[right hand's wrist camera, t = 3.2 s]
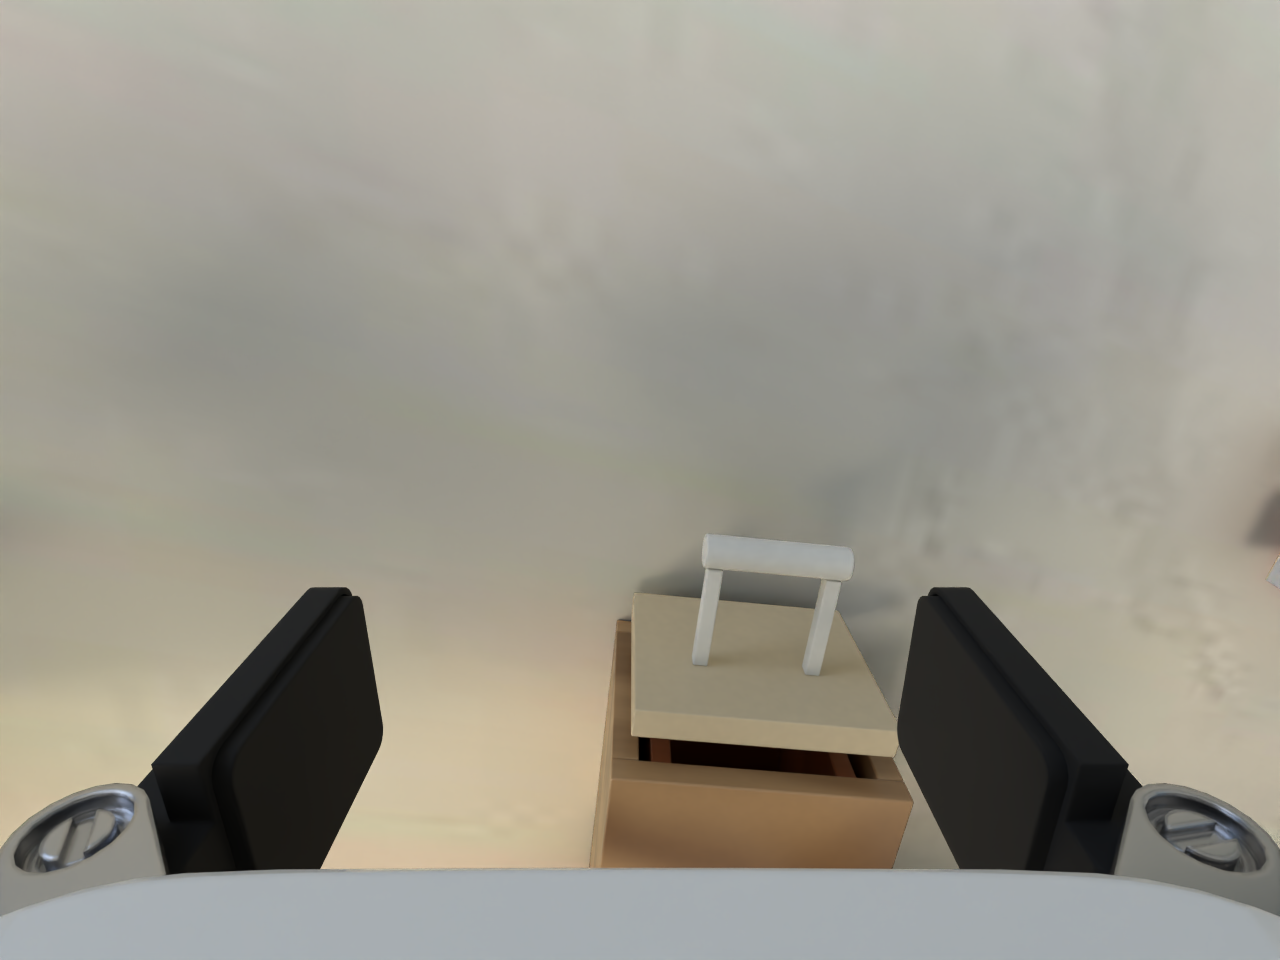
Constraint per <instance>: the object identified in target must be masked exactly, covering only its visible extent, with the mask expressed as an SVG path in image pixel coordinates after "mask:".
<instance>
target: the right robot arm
mask: <svg viewBox="0 0 1280 960" xmlns="http://www.w3.org/2000/svg"><path fill="white" fill-rule="evenodd" d="M382 736H383V723H382V717H381V711H380V705H379V699H378V693H377V687H376V681H375V675H374V669H373V663H372V657H371V651H370V645H369V639H368V633H367V627H366V621H365V615H364V609H363V604H362V600H361V599H360V597H358V596H352V594H351V592H350V590H349V589H348V588H346V587H314V588H310V589H309V590H307V591H306V592H305V593H304V595H303V596H302V597H301V598H300V599H299V600H298V601H297V602H296V603H295V605H294V606H293V607H292V608H291V609H290V610H289V611H288V612H287V614H286V615H285V616H284V617H283V618H282V619H281V620H280V621H279V622H278V624H277V625H276V626H275V627H274V628H273V629H272V630H271V631H270V633H269V634H268V635H267V636H266V637H265V638H264V639H263V640H262V641H261V643H260V644H259V645H258V646H257V647H256V648H255V649H254V650H253V652H252V653H251V654H250V655H249V656H248V657H247V658H246V659H245V660H244V662H243V663H242V664H241V665H240V666H239V667H238V668H237V669H236V670H235V672H234V673H233V674H232V675H231V676H230V677H229V678H228V679H227V681H226V682H225V683H224V684H223V685H222V686H221V687H220V688H219V689H218V691H217V692H216V693H215V694H214V695H213V696H212V697H211V698H210V700H209V701H208V702H207V703H206V704H205V705H204V706H203V707H202V708H201V710H200V711H199V712H198V713H197V714H196V715H195V716H194V717H193V719H192V720H191V721H190V722H189V723H188V724H187V725H186V726H185V727H184V729H183V730H182V731H181V732H180V733H179V734H178V735H177V736H176V738H175V739H174V740H173V741H172V742H171V743H170V744H169V745H168V746H167V748H166V749H165V750H164V751H163V752H162V753H161V754H160V755H159V757H158V758H157V759H156V760H155V761H154V762H153V763H152V764H151V765H152V768H153V769H152V771H151V772H150V773H149V774H148V775H147V776H146V777H145V778H144V780H143V781H142V782H141V783H140V784H139V785H138V786H135V785H132V784H120V783H113V784H107V785H100V786H95V787H92V788H88V789H85V790H82V791H79V792H76V793H73V794H71V795H69V796H67V797H65V798H63V799H61V800H58V801H56V802H54V803H52V804H50V805H49V806H47V807H46V808H44V809H43V810H41V811H39V812H38V813H36V814H35V815H33V816H32V817H30V818H29V819H28V820H27V821H26V822H24V823H23V824H22V825H21V826H20V827H19V828H18V829H17V830H15V831H14V832H13V833H12V834H11V835H10V837H9V838H8V839H7V841H6V842H5V844H4V845H3V846H2V848H1V849H0V960H1280V849H1279V848H1278V846H1277V845H1276V844H1275V842H1274V841H1273V839H1272V838H1271V837H1270V835H1269V834H1268V833H1267V832H1266V831H1265V830H1263V829H1262V828H1261V827H1260V826H1259V825H1258V824H1257V823H1256V822H1254V821H1253V820H1252V819H1251V818H1250V817H1248V816H1247V815H1245V814H1244V813H1242V812H1241V811H1239V810H1237V809H1236V808H1234V807H1233V806H1231V805H1230V804H1228V803H1226V802H1224V801H1222V800H1219V799H1217V798H1215V797H1213V796H1211V795H1209V794H1207V793H1204V792H1201V791H1198V790H1195V789H1192V788H1188V787H1185V786H1180V785H1173V784H1167V783H1160V784H1148V785H1145V786H1142V785H1141V784H1140V783H1139V782H1138V781H1137V780H1136V778H1135V777H1134V776H1133V775H1132V774H1131V773H1130V772H1129V771H1128V769H1127V768H1128V765H1129V764H1128V763H1127V762H1126V761H1125V760H1124V759H1123V758H1122V757H1121V755H1120V754H1119V753H1118V752H1117V751H1116V750H1115V749H1114V748H1113V746H1112V745H1111V744H1110V743H1109V742H1108V741H1107V740H1106V739H1105V738H1104V736H1103V735H1102V734H1101V733H1100V732H1099V731H1098V730H1097V729H1096V727H1095V726H1094V725H1093V724H1092V723H1091V722H1090V721H1089V720H1088V719H1087V717H1086V716H1085V715H1084V714H1083V713H1082V712H1081V711H1080V710H1079V708H1078V707H1077V706H1076V705H1075V704H1074V703H1073V702H1072V701H1071V700H1070V698H1069V697H1068V696H1067V695H1066V694H1065V693H1064V692H1063V691H1062V689H1061V688H1060V687H1059V686H1058V685H1057V684H1056V683H1055V682H1054V681H1053V679H1052V678H1051V677H1050V676H1049V675H1048V674H1047V673H1046V672H1045V670H1044V669H1043V668H1042V667H1041V666H1040V665H1039V664H1038V663H1037V662H1036V660H1035V659H1034V658H1033V657H1032V656H1031V655H1030V654H1029V653H1028V652H1027V650H1026V649H1025V648H1024V647H1023V646H1022V645H1021V644H1020V643H1019V641H1018V640H1017V639H1016V638H1015V637H1014V636H1013V635H1012V634H1011V633H1010V631H1009V630H1008V629H1007V628H1006V627H1005V626H1004V625H1003V624H1002V622H1001V621H1000V620H999V619H998V618H997V617H996V616H995V615H994V614H993V612H992V611H991V610H990V609H989V608H988V607H987V606H986V605H985V603H984V602H983V601H982V600H981V599H980V598H979V597H978V596H977V595H976V593H975V592H974V591H973V590H971V589H970V588H966V587H934V588H932V589H931V590H930V592H929V594H928V596H922V597H920V599H919V600H918V604H917V609H916V615H915V621H914V627H913V633H912V639H911V645H910V651H909V657H908V663H907V669H906V675H905V681H904V687H903V693H902V699H901V705H900V711H899V717H898V723H897V736H898V742H899V745H900V748H901V750H902V752H903V754H904V756H905V758H906V761H907V763H908V765H909V767H910V769H911V771H912V773H913V775H914V777H915V779H916V781H917V783H918V785H919V787H920V789H921V791H922V793H923V795H924V797H925V799H926V801H927V803H928V805H929V807H930V809H931V811H932V813H933V815H934V817H935V819H936V822H937V824H938V826H939V828H940V830H941V832H942V834H943V836H944V838H945V840H946V842H947V844H948V846H949V848H950V850H951V852H952V854H953V856H954V858H955V860H956V862H957V864H958V866H959V868H960V869H826V868H454V869H320V868H321V866H322V864H323V862H324V860H325V858H326V856H327V854H328V852H329V850H330V848H331V846H332V844H333V842H334V840H335V838H336V836H337V834H338V832H339V830H340V828H341V826H342V824H343V822H344V819H345V817H346V815H347V813H348V811H349V809H350V807H351V805H352V803H353V801H354V799H355V797H356V795H357V793H358V791H359V789H360V787H361V785H362V783H363V781H364V779H365V777H366V775H367V773H368V771H369V769H370V767H371V765H372V763H373V761H374V758H375V756H376V754H377V752H378V750H379V748H380V745H381V742H382Z"/></svg>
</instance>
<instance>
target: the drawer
mask: <svg viewBox="0 0 1280 960" xmlns="http://www.w3.org/2000/svg"><path fill="white" fill-rule="evenodd" d="M702 565H703V567H704V568H706V571H705V577H704V583H703V589H702V595H701V598H690V597H679V596H669V595H658V594H647V593H636V592H635V593H634V597H633V605H632V613H631V735H632V736H637V737H639V761H651V762H663V763H676V764H689V765H701V766H714V767H726V768H739V769H752V770H764V771H777V772H789V773H802V774H814V775H827V776H840V777H852V778H856V776H855V773H854V771H853V768H852V766H851V763H850V761H849V758H848V756H847V754H859V755H871V756H883V757H895V755H896V751H897V748H898V745H899V742H898V736H897V721H896V719H895V717H894V715H893V713H892V711H891V709H890V708H889V706H888V704H887V702H886V700H885V698H884V696H883V694H882V692H881V691H880V689H879V687H878V685H877V683H876V681H875V679H874V677H873V675H872V673H871V672H870V670H869V668H868V666H867V664H866V662H865V660H864V658H863V656H862V655H861V653H860V651H859V649H858V647H857V645H856V643H855V641H854V639H853V637H852V636H851V634H850V632H849V630H848V628H847V626H846V624H845V622H844V620H843V619H842V617H841V615H840V613H839V611H835V609H836V604H837V600H838V596H839V592H840V588H841V584H842V582H841V581H848V580H850V579H851V577H852V574H853V571H854V553H853V551H852V549H851V548H850V547H844V546H833V545H823V544H812V543H802V542H791V541H781V540H771V539H760V538H750V537H739V536H729V535H718V534H706V535H705V537H704V541H703V547H702ZM723 570H733V571H744V572H755V573H766V574H776V575H787V576H798V577H808V578H819V579H822V580H821V585H820V589H819V594H818V598H817V602H816V607H815V609H811V608H800V607H789V606H778V605H767V604H756V603H745V602H734V601H723V600H719V595H720V589H721V584H722V578H723Z"/></svg>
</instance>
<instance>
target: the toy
mask: <svg viewBox="0 0 1280 960" xmlns="http://www.w3.org/2000/svg"><path fill="white" fill-rule="evenodd" d="M1265 580H1267V581H1268V582H1270V583H1271V584H1273V585H1274V586H1276V587H1277V588H1279V589H1280V554H1279V556H1278V558H1277V559H1276V561H1275V563H1274V565H1273V567H1272V568H1271V570H1270V572H1269V574H1268V576H1267V577H1266V579H1265Z"/></svg>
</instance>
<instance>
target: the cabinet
mask: <svg viewBox="0 0 1280 960" xmlns="http://www.w3.org/2000/svg"><path fill="white" fill-rule="evenodd" d="M847 756H848V758H849V761H850V763H851V766H852V768H853V771H854V773H855V776H856V778H852V777H840V776H827V775H814V774H802V773H789V772H777V771H764V770H752V769H739V768H726V767H714V766H701V765H689V764H676V763H663V762H651V761H639V737H637V736H632V735H631V621H622V620H617V625H616V634H615V643H614V652H613V660H612V669H611V678H610V687H609V696H608V705H607V714H606V722H605V731H604V740H603V749H602V758H601V767H600V776H599V784H598V793H597V802H596V811H595V820H594V829H593V837H592V846H591V855H590V864H589V868H826V869H892V868H893V865H894V862H895V859H896V855H897V852H898V849H899V846H900V843H901V840H902V837H903V834H904V831H905V828H906V825H907V822H908V819H909V816H910V812H911V809H912V806H913V799H912V797H911V795H910V793H909V791H908V789H907V787H906V785H905V783H904V782H903V779H902V777H901V775H900V773H899V770H898V768H897V766H896V764H895V762H894V760H893V758H892V757H883V756H871V755H859V754H847Z"/></svg>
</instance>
